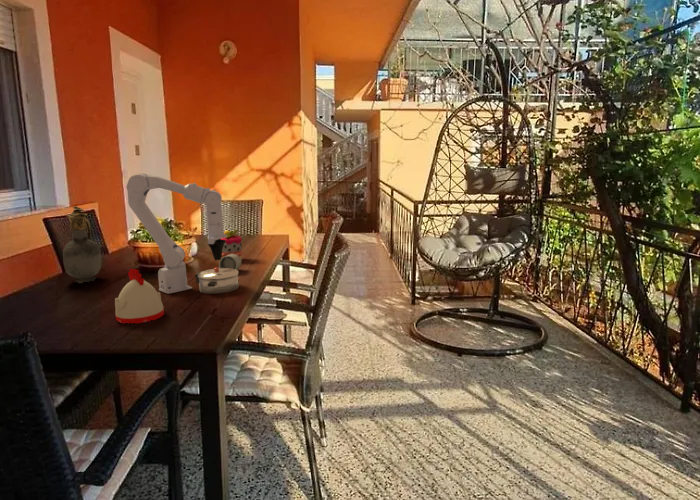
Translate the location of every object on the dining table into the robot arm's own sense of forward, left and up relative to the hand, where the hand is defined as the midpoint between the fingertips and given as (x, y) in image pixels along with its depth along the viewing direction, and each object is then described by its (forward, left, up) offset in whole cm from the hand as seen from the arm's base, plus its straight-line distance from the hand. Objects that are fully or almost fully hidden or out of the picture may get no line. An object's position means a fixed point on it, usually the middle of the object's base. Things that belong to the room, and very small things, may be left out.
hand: (217, 259), depth 181 cm
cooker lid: (-2, -2, -5) cm, 6 cm away
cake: (+27, +36, -11) cm, 46 cm away
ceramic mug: (+14, +18, -11) cm, 25 cm away
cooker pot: (-2, -2, -10) cm, 11 cm away
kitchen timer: (-35, -11, -11) cm, 38 cm away
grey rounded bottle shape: (-31, +51, -11) cm, 60 cm away
